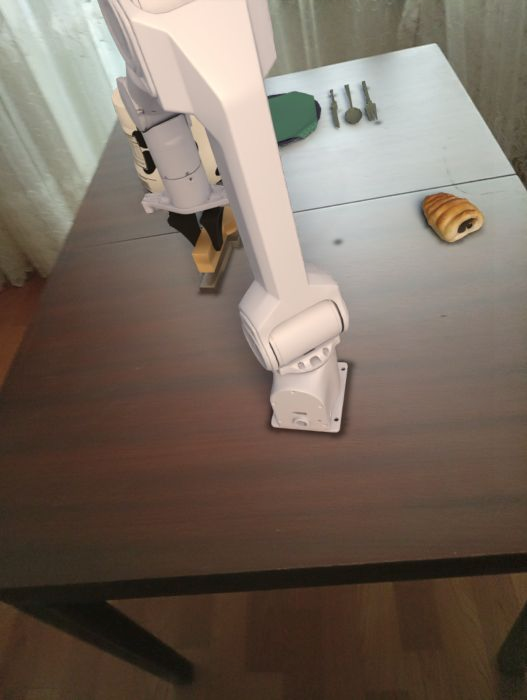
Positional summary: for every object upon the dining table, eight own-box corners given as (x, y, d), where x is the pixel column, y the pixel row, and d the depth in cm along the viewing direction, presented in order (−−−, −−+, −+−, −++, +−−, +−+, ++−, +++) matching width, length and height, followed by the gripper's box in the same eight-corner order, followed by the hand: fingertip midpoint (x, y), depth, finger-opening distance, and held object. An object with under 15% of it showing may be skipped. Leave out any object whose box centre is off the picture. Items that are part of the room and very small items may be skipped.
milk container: (246, 152, 96) (220, 53, 82) (218, 209, 87) (184, 109, 73) (167, 155, 102) (131, 63, 88) (133, 209, 92) (86, 116, 78)
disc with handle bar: (213, 215, 82) (206, 197, 79) (243, 214, 80) (237, 195, 77) (190, 272, 74) (182, 254, 71) (223, 272, 73) (216, 254, 70)
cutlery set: (226, 113, 107) (223, 103, 105) (367, 83, 102) (366, 71, 101) (222, 165, 95) (219, 154, 93) (382, 133, 90) (382, 121, 88)
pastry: (409, 213, 76) (410, 192, 73) (448, 196, 76) (450, 174, 73) (447, 247, 70) (449, 225, 67) (488, 228, 70) (492, 206, 68)
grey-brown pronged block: (224, 292, 74) (221, 287, 73) (194, 292, 75) (191, 287, 74) (248, 220, 83) (246, 214, 82) (221, 221, 85) (219, 215, 84)
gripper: (240, 144, 64) (262, 227, 75) (140, 152, 68) (174, 230, 79) (227, 177, 60) (252, 260, 71) (121, 184, 64) (160, 261, 75)
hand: (210, 246), depth 74 cm, fingers closed on disc with handle bar, 2 cm apart
